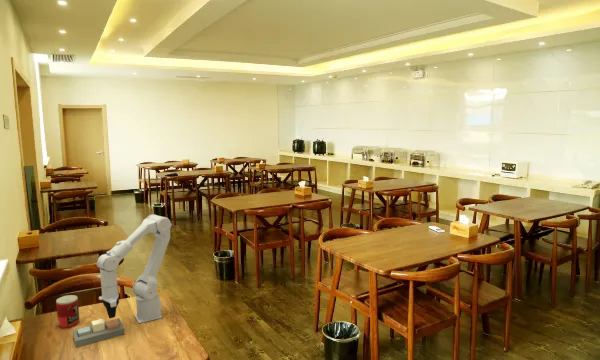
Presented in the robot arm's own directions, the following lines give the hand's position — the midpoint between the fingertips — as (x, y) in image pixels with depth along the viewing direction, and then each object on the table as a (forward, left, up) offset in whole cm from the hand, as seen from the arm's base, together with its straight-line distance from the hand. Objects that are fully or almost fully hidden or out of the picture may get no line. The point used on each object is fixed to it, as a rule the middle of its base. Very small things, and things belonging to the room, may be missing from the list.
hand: (112, 317), depth 164 cm
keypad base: (+5, 0, -6) cm, 8 cm away
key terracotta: (0, 0, -5) cm, 5 cm away
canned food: (+14, -16, -6) cm, 23 cm away
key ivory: (+5, 0, -4) cm, 6 cm away
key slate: (+10, 0, -5) cm, 11 cm away
